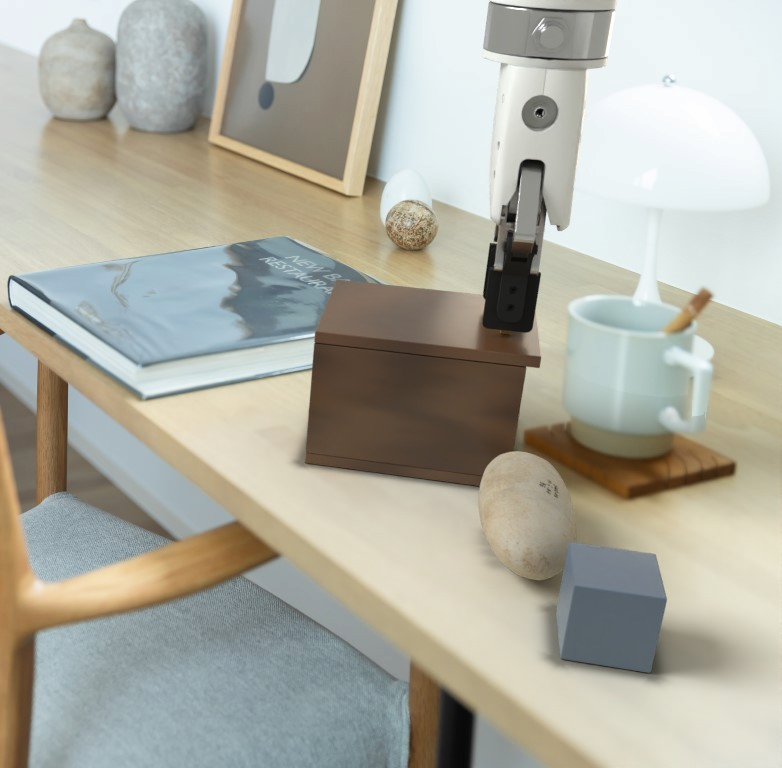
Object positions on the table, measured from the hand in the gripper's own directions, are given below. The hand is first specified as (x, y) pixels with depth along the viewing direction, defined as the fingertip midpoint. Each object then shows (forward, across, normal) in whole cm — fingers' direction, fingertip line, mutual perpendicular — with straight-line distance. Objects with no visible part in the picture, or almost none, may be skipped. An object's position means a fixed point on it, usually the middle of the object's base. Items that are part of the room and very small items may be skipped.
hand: (506, 312), depth 79 cm
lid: (+2, 0, +5) cm, 5 cm away
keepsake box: (+10, 0, +5) cm, 12 cm away
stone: (+11, -13, -2) cm, 17 cm away
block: (+10, -22, -6) cm, 25 cm away
